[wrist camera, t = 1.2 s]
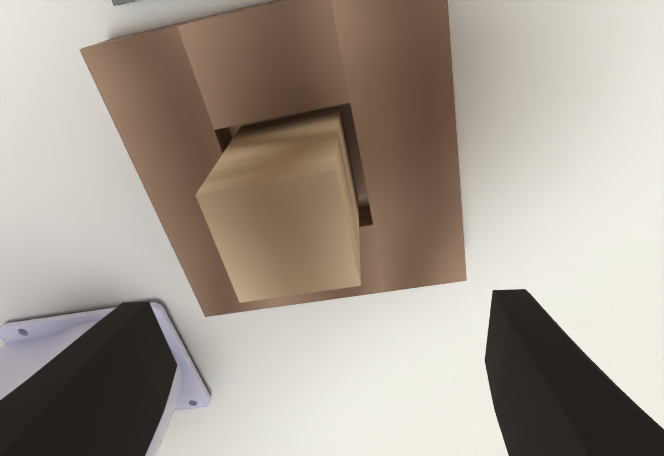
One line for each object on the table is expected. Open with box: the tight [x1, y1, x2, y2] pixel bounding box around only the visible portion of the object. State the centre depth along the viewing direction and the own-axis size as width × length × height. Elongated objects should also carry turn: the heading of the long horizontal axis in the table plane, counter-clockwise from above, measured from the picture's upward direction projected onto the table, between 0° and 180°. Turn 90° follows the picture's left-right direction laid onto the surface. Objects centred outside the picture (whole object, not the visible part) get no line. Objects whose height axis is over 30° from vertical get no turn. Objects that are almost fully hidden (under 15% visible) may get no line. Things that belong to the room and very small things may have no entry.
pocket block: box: [79, 0, 467, 317], centre depth 18 cm, size 12×12×2 cm
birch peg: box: [196, 107, 361, 303], centre depth 16 cm, size 4×4×6 cm
